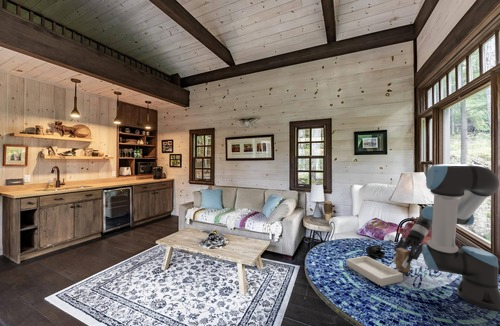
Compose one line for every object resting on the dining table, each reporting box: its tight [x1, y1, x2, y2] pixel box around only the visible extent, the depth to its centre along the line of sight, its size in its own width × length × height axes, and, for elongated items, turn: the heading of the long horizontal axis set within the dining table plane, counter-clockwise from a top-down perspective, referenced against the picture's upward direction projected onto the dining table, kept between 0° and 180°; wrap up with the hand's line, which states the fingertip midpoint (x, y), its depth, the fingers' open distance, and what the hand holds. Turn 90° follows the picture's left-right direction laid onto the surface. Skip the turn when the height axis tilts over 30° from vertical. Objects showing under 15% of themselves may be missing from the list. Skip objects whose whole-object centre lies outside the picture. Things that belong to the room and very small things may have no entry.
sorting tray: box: [345, 255, 404, 287], centre depth 124 cm, size 24×16×4 cm, turn 19°
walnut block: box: [395, 248, 412, 274], centre depth 126 cm, size 5×5×12 cm
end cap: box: [365, 244, 386, 260], centre depth 148 cm, size 10×7×7 cm
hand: (398, 264), depth 124 cm, fingers closed on walnut block, 5 cm apart
